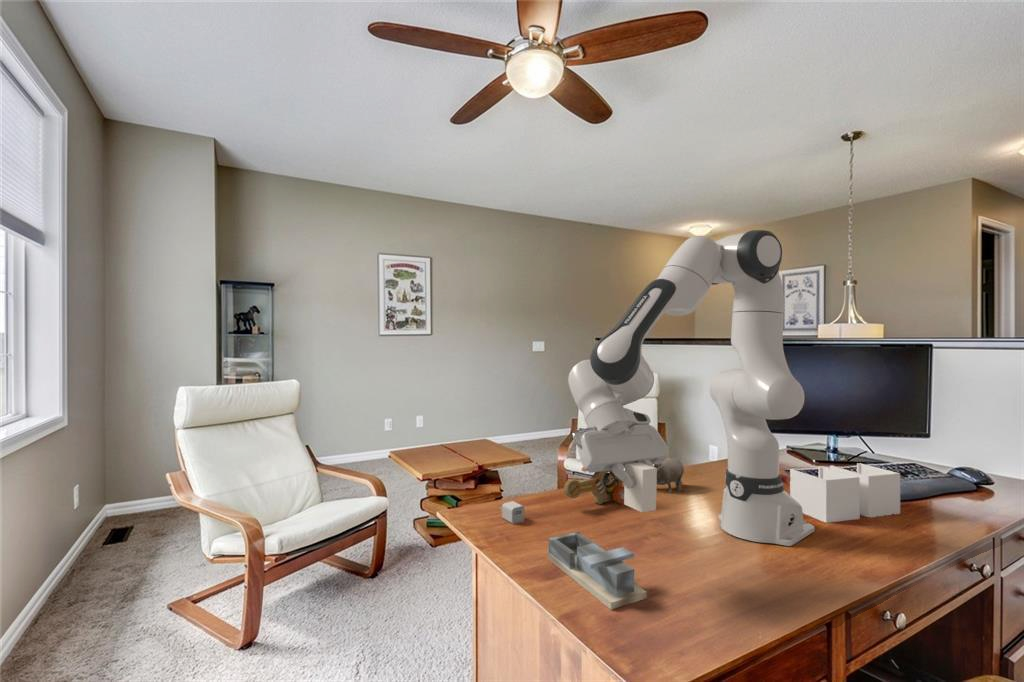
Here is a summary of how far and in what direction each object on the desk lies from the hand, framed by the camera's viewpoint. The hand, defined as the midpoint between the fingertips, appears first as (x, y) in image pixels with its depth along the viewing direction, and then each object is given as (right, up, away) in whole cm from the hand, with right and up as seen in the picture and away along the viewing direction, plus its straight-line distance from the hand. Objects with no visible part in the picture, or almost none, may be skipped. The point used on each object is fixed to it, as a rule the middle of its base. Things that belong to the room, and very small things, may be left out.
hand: (642, 485), depth 89 cm
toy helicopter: (-1, -19, +42) cm, 46 cm away
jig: (-10, -18, +1) cm, 21 cm away
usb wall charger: (-26, -18, +31) cm, 44 cm away
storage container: (+66, -19, +37) cm, 77 cm away
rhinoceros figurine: (+22, -19, +55) cm, 62 cm away
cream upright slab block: (0, -4, 0) cm, 4 cm away
